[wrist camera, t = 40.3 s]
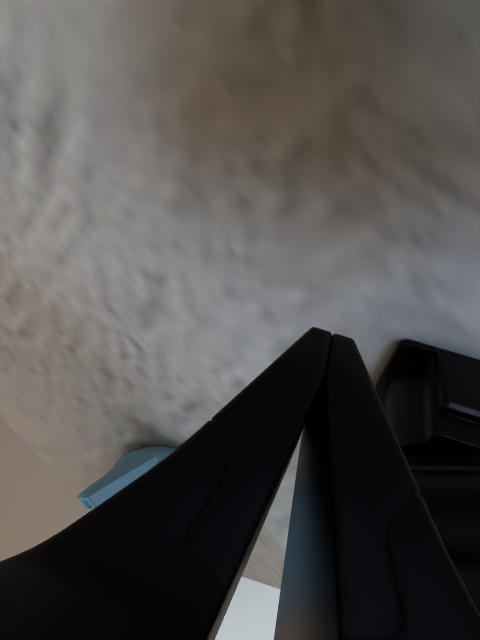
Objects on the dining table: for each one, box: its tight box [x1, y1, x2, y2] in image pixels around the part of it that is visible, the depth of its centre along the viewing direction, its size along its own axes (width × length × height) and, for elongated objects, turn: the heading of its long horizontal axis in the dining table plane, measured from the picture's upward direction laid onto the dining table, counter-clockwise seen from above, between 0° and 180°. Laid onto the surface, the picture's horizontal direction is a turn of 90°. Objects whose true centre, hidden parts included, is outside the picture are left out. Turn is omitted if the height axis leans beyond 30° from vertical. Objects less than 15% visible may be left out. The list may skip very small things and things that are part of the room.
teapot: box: [77, 446, 176, 511], centre depth 38 cm, size 15×17×11 cm
